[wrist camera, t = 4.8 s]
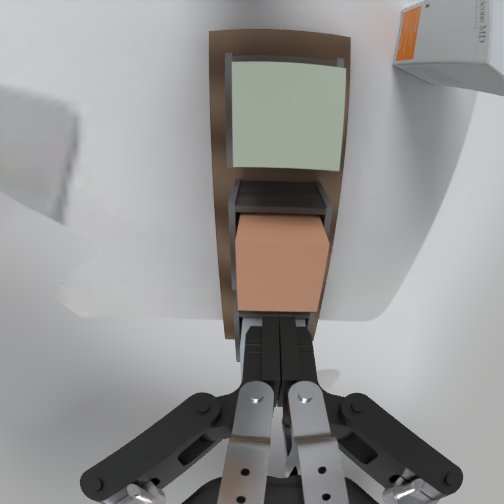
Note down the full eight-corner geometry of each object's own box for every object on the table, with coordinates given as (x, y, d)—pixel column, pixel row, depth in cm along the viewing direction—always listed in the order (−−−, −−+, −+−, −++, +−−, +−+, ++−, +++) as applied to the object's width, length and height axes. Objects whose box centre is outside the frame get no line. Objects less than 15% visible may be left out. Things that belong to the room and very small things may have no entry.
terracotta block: (243, 198, 20) (235, 241, 15) (313, 200, 20) (329, 243, 15) (244, 257, 23) (237, 310, 18) (307, 259, 23) (316, 311, 17)
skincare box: (399, 8, 13) (490, -25, 3) (441, 30, 14) (538, 22, 4) (389, 67, 17) (487, 65, 7) (431, 86, 17) (534, 107, 7)
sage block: (242, 71, 15) (231, 61, 10) (321, 74, 15) (346, 68, 10) (242, 143, 18) (233, 167, 13) (317, 146, 18) (339, 171, 13)
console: (212, 34, 16) (192, 15, 11) (345, 40, 16) (374, 24, 11) (226, 329, 32) (220, 374, 27) (311, 331, 32) (317, 376, 27)
